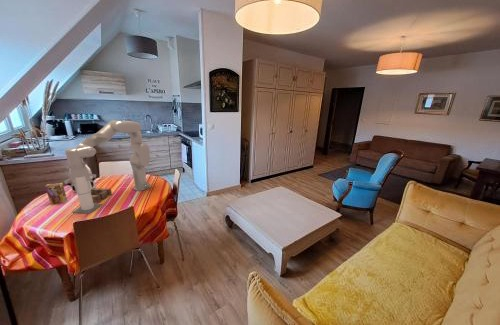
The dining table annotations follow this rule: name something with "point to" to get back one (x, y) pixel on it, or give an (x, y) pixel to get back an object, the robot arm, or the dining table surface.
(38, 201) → the dining table surface
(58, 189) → the candy box
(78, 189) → the cylindrical container
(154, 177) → the dining table surface
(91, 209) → the mat
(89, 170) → the milk
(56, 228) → the dining table surface
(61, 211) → the dining table surface
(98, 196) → the collar
